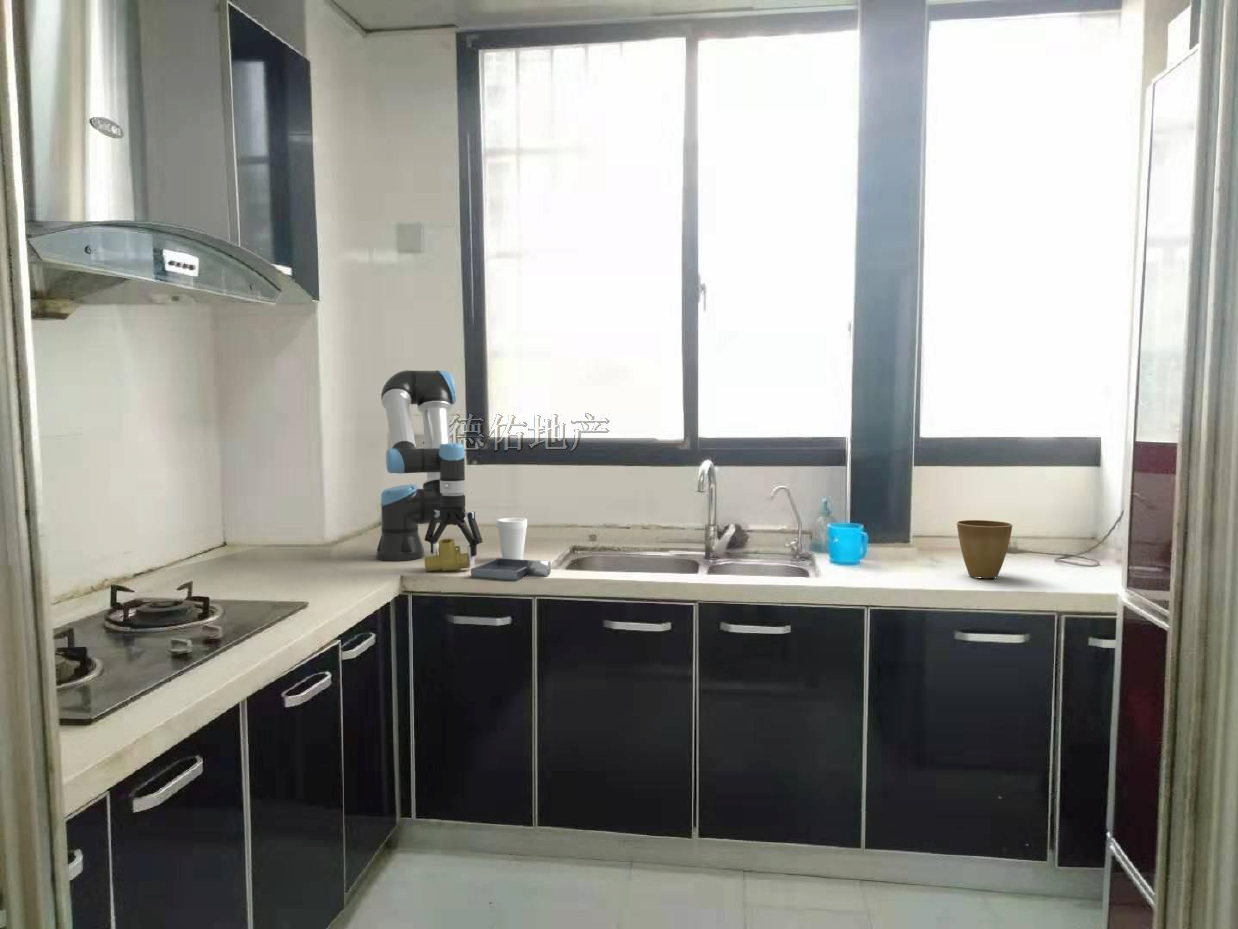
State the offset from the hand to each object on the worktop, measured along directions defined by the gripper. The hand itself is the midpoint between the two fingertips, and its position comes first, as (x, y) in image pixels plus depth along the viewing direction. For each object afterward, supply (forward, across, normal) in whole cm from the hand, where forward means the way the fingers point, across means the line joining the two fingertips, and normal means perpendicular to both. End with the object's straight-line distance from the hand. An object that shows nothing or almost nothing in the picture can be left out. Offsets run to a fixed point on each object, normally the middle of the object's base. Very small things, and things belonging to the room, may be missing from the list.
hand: (453, 565), depth 255 cm
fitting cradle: (+1, +21, -1) cm, 21 cm away
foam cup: (+1, +11, +19) cm, 22 cm away
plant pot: (+2, +153, +37) cm, 157 cm away
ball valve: (+1, -1, -2) cm, 2 cm away
